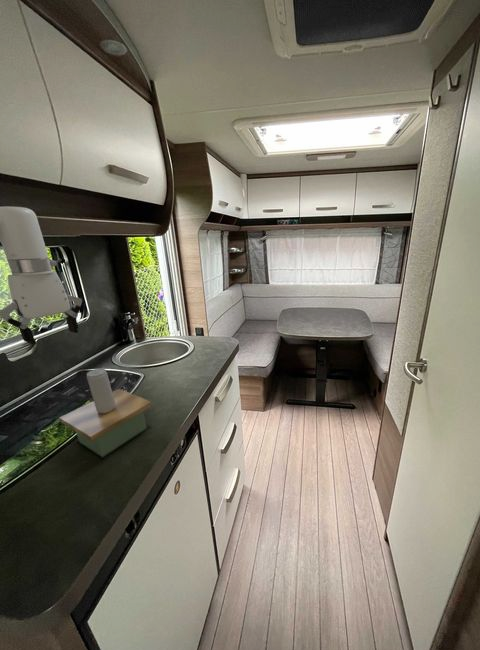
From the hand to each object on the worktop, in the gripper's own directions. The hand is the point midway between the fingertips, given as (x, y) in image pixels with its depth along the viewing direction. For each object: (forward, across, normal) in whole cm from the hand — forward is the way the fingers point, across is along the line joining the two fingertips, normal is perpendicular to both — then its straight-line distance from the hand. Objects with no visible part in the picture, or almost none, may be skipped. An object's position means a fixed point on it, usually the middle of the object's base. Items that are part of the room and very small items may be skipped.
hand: (53, 337), depth 70 cm
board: (+24, -5, +6) cm, 25 cm away
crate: (+32, -5, +6) cm, 33 cm away
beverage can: (+23, -5, +6) cm, 24 cm away
